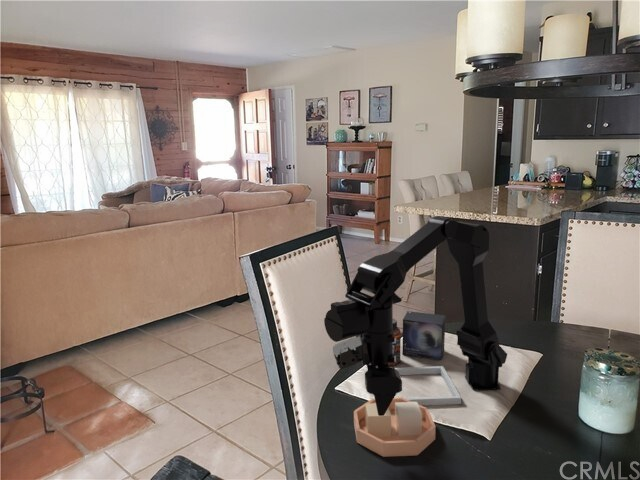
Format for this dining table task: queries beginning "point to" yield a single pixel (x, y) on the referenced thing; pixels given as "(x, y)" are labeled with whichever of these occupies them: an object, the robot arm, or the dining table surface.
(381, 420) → the sand stone
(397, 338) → the supplement bottle
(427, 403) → the tray
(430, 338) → the small box
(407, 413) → the pale stone
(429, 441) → the bowl
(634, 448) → the dining table surface
